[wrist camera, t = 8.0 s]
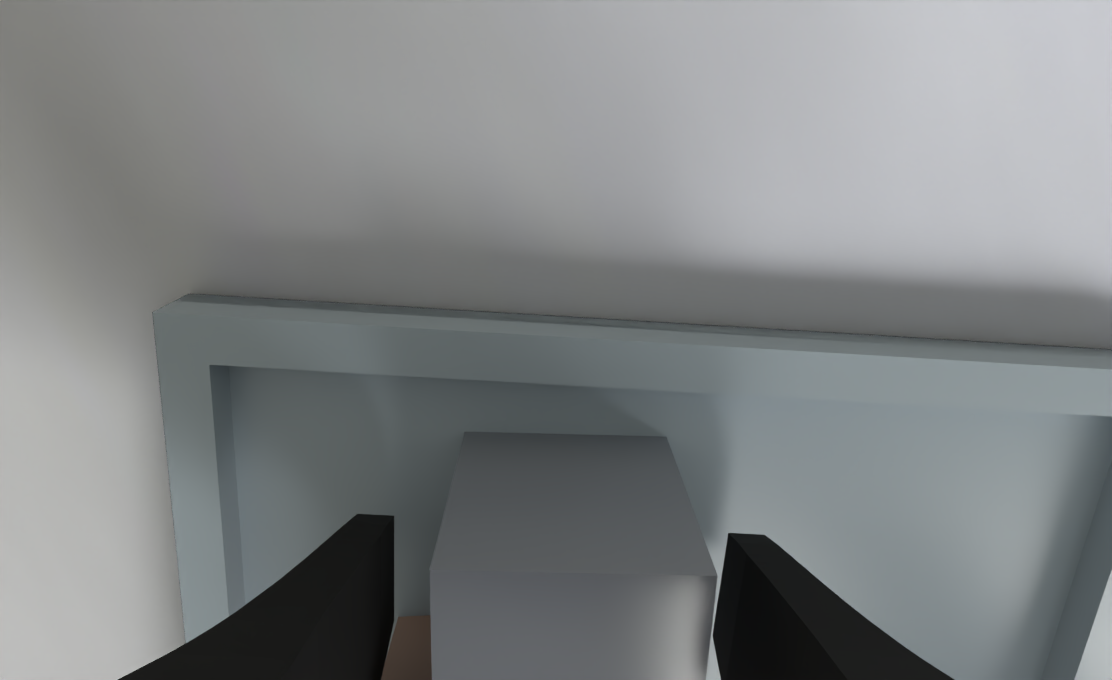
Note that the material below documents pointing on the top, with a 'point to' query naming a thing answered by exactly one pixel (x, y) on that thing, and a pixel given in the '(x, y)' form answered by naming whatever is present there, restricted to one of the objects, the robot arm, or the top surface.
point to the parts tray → (698, 448)
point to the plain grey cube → (569, 563)
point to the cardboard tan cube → (410, 650)
